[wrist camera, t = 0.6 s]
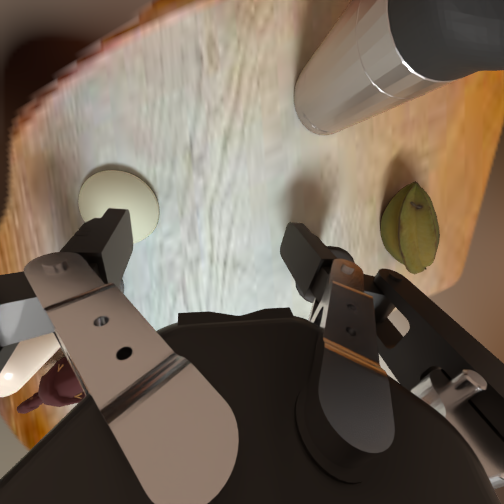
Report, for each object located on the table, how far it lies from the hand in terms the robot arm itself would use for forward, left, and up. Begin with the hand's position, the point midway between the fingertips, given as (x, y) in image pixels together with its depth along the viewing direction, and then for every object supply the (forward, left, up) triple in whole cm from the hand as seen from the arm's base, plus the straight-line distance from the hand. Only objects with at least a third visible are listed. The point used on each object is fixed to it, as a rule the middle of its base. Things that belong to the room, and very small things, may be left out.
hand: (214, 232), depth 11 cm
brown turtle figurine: (+36, -7, -21) cm, 43 cm away
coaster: (+8, -11, -21) cm, 25 cm away
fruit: (-11, +28, -22) cm, 37 cm away
